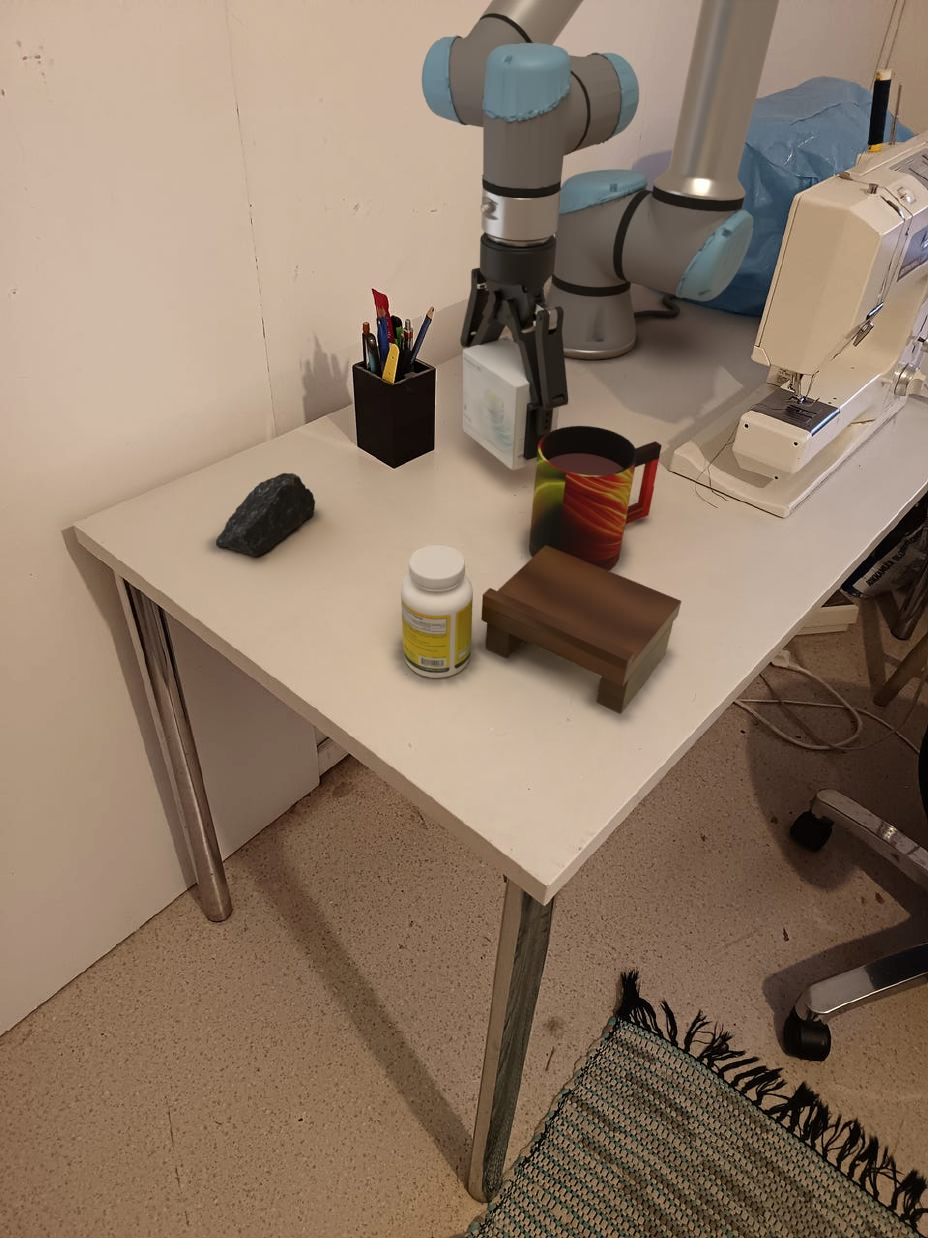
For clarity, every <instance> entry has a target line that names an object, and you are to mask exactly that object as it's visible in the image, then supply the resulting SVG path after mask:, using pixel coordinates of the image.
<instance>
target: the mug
mask: <svg viewBox="0 0 928 1238" xmlns="http://www.w3.org/2000/svg"><path fill="white" fill-rule="evenodd" d="M661 451H662V444H661V443H659V442H657V441H656V440H655V441H652V442H649V443H646V444H643V445H641V446H639V447H635V445H634V444H633V443H632V442H631V441H630V440H629V439H628V438H626V437H625V436H624V435H622V434H620V433H618V432H615V431H613V430H610V429H606V428H604V427H603V428H602V427H598V426H592V425H591V426H590V425H571V426H570V425H569V426H565V427H559V428H557V429H556V430H554V431H551V432H549V433H548V434H546V435H545V436H543V438H542V439H541V440H540V442H539V444H538V452H537V462H535V464H536V465H535V473H534V474H535V475H534V485H533V486H534V487H533V495H532V496H533V498H532V509H531V519H530V531H529V542H528V551H529V554H530V556H531V559H532V558H533V557H534V556H535V555H536V554H537V553H538V552H539V551H540V550H541V549H542V548H543V547H544V546H545V545H547V546H549V547H552V548H554V549H557V550H559V551H561V552H564V553H566V554H569V555H571V556H574V557H576V558H578V559H581V560H583V561H586V562H588V563H591V564H593V565H595V566H598V567H600V568H603V569H605V570H608V571H610V570H612V569H613V568H614V567H615V566H617V564H618V562H619V560H620V555H621V549H622V543H623V538H624V534H625V527H626V525H628V524H630V523H633V522H635V521H637V520H640V519H643V518H645V517H648V516H650V515H649V514H650V511H651V505H652V500H653V495H654V488H655V482H656V477H657V472H658V467H659V462H660V461H659V460H660V456H661ZM643 465H644V466H643ZM640 466H643V471H642V472H643V473H642V478H641V482H640V488H639V492H638V493H639V494H638V498H637V499H638V500H637V502H635V503H633V504H630V498H631V492H632V487H633V481H634V476H635V470H636V468H638V467H640ZM629 504H630V505H629Z"/></svg>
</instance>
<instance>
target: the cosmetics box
mask: <svg viewBox="0 0 928 1238" xmlns="http://www.w3.org/2000/svg"><path fill="white" fill-rule="evenodd" d="M529 385H530V384H529V382H528V381H527V378H526V374H525V370H524V366H523V362H522V357H521V353H520V349H519V345H518V344H517V343H515V342H514V341H513V338H510V337H509V336H503V337H499V339H498V340H497V341H493V342H490V343H486V344H482V345H476V346H472V347H469V348H467V347H465V348H464V349H462V431H463V432H464V433H466V434H467V435H468V436H469V437H470V438H471V439H473V440H474V441H475V442H477V443H478V444H479V445H480V446H481V447H483V448H484V449H485V450H486V451H488V452H489V453H490V454H492V455H493V456H494V457H495V458H496V459H498V460H499V461H500V462H502V464H504V465H505V466H506V467H507V468H509V469H510V470H511V471H516V470H519V469H522V468H525V467H527V466H529V465H531V464H536V463H537V457H536V458H533V459H530V460H526V459H525V458H524V457H523V453H524V439H525V425H526V411H527V404H528V403H531V402H532V399H531V395H530V391H529ZM541 395H542V394H541ZM559 410H560V407H557V408H553V416H552V427H551V431H554V430H556V429H558V420H559V412H560V411H559ZM551 431H550V432H551Z"/></svg>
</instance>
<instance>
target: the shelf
mask: <svg viewBox="0 0 928 1238" xmlns="http://www.w3.org/2000/svg"><path fill="white" fill-rule="evenodd" d="M481 601H482V602H481V616H480V617H481V618H480V619H481V621H482V622H483V623H486V632H485V633H486V634H485V649H486V650H488V651H490V652H492V653H493V654H496V655H498V656H500V657H502V658H504V659H506V660H508V659H509V658H510V657H511V656H512V655H513V653H514V652H515V651H517V649H519V647H520V646H521V645H522V644H523V643H524V642H527V643H529V644H532V645H533V646H535V647H538V648H539V649H541V650H543V651H546V652H548V653H550V654H552V655H555V656H557V657H559V658H561V659H562V660H565V661H567V662H569V663H572V664H574V665H576V666H578V667H580V668H582V669H584V670H587V671H589V672H590V673H593V674H595V675H597V676H599V677H600V681H599V685H598V692H597V698H596V703H597V704H599V705H601V706H604V707H605V708H608V709H610V710H611V711H614V712H616V713H618V714H619V715H621V714H623V712H624V710H626V709H627V707H628V705H630V703H631V701H632V700H633V699H634V698H635V696H636V695H637V693H638V692H639V690H641V688H642V687H643V686H644V684H645V683H646V682H647V680H648V679H649V678H650V676H651V675H652V674H653V672H654V671H655V670H656V668H657V667H658V666H659V664H660V663H661V662H662V660H663V659H664V658H665V657H666V653H667V649H668V645H669V641H670V638H671V637H670V636H671V633H672V629H673V624H674V622H675V620H676V619H677V618H678V616H679V614H680V613H679V612H680V609H681V606H682V600H680V599H678V598H676V597H673V596H671V595H668V594H665V593H663V592H661V591H658V590H656V589H654V588H651V587H649V586H646V585H643V584H641V583H639V582H637V581H634V580H632V579H629V578H626V577H625V576H622V575H620V574H618V573H615V572H612V571H610V570H609V571H608V570H605V569H603V568H600V567H598V566H595V565H593V564H591V563H588V562H586V561H583V560H581V559H578V558H576V557H574V556H571V555H569V554H566V553H564V552H561V551H559V550H557V549H554V548H552V547H549V546H547V545H545V546H544V547H543V548H542V549H541V550H540V551H539V552H538V553H537V554H536V555H535V556H534V557H533V558H532V557H531V559H529V560H528V561H527V562H526V563H525V564H524V565H523V566H522V567H521V568H520V569H519V570H517V572H515V573H514V574H513V575H512V576H511V577H510V578H509V579H508V580H507V581H506V582H505V583H503V584H502V586H500V587H499V588H498V590H496V589H493V588H491V587H489V588H487V590H486V591H485V592H484V593H483V594H482V600H481Z"/></svg>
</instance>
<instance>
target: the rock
mask: <svg viewBox="0 0 928 1238" xmlns="http://www.w3.org/2000/svg"><path fill="white" fill-rule="evenodd" d="M315 507H316V500H315V498H314V494H313V492H312V491H311V490H310V489H309V488H307V487H306V485H305V484H304V483H303V482H302V479H301V477H300V476H299V475H297V474H295V473H293V472H291V473H288V472H287V473H286V472H282V473H280V474H278V475H276V476H274V477H271V478H268V479H266V480H264V481H261V482H259V483H258V484H257V485H256V486H255V487H254V488H253V490H251V491H250V492H249V493H248V494H247V496H246V497H245V498H244V500H243V501H242V502H241V504H239V505H238V506H237V507H236V509H235V511H234V512H233V513H232V515H231V516H230V517H228V520H227V521H226V523H225V526H224V529H223V530H222V532H221V533H220V534H219V535H217V538H216V540H215V545H216V546H217V547H219V548H220V549H224V548H228V549H229V550H234V551H236V552H237V551H238V552H239V553H242V554H247V555H250V556H252V557H259V556H261V555H262V554H264V553H266V552H267V551H269V550H271V549H272V548H273V547H274V546H275V545H276V544H277V543H279V542H281V541H282V540H283V539H284V538H285V537H288V535H289V534H290V533H291V531H293V530H295V529H298V528H299V527H300V526H301V525H302V523H303V522H305V521H307V520H309V519H311V518H313V517H314V513H315Z"/></svg>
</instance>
